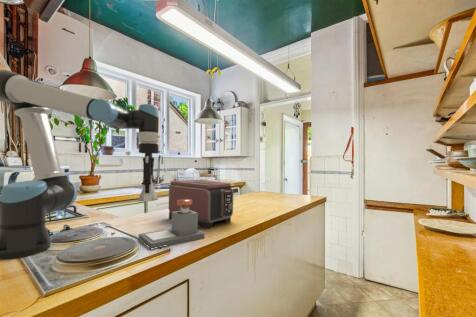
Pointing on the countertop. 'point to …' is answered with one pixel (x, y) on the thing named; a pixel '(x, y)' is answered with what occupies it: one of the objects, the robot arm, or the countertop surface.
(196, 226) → the press
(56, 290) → the countertop surface
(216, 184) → the toaster
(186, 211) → the copper ovoid
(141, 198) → the flask
